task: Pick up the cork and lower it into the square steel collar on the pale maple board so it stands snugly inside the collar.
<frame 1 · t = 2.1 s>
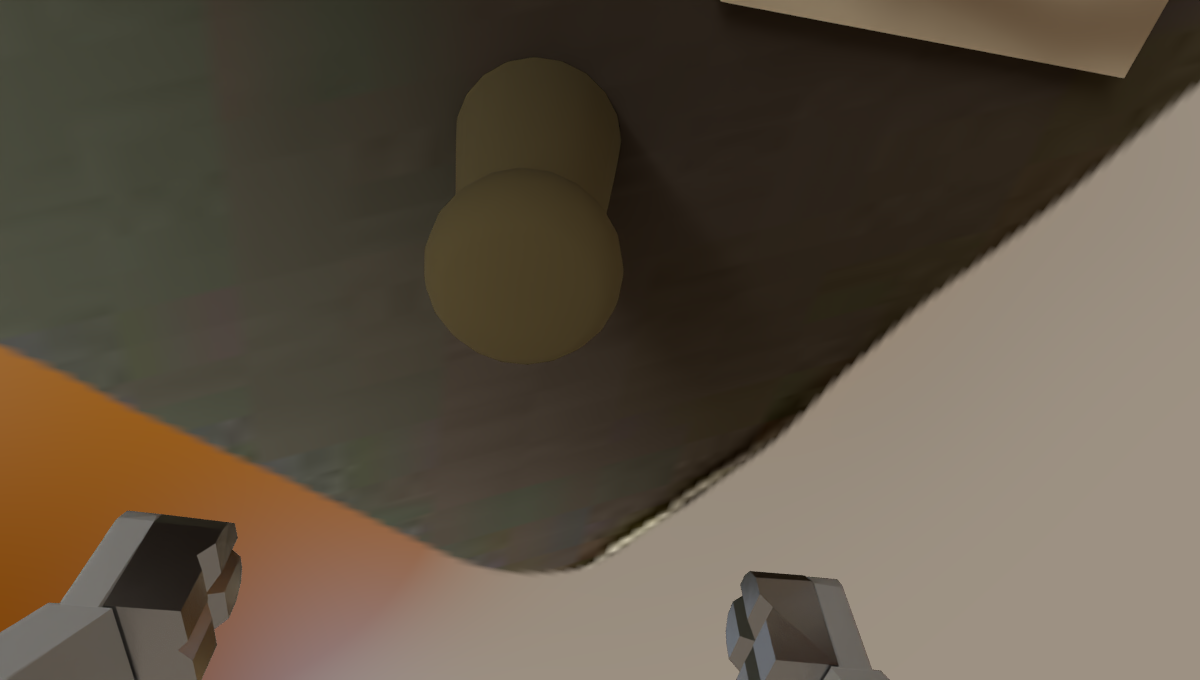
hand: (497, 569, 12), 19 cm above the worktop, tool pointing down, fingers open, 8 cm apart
cork: (538, 140, 27), on the worktop
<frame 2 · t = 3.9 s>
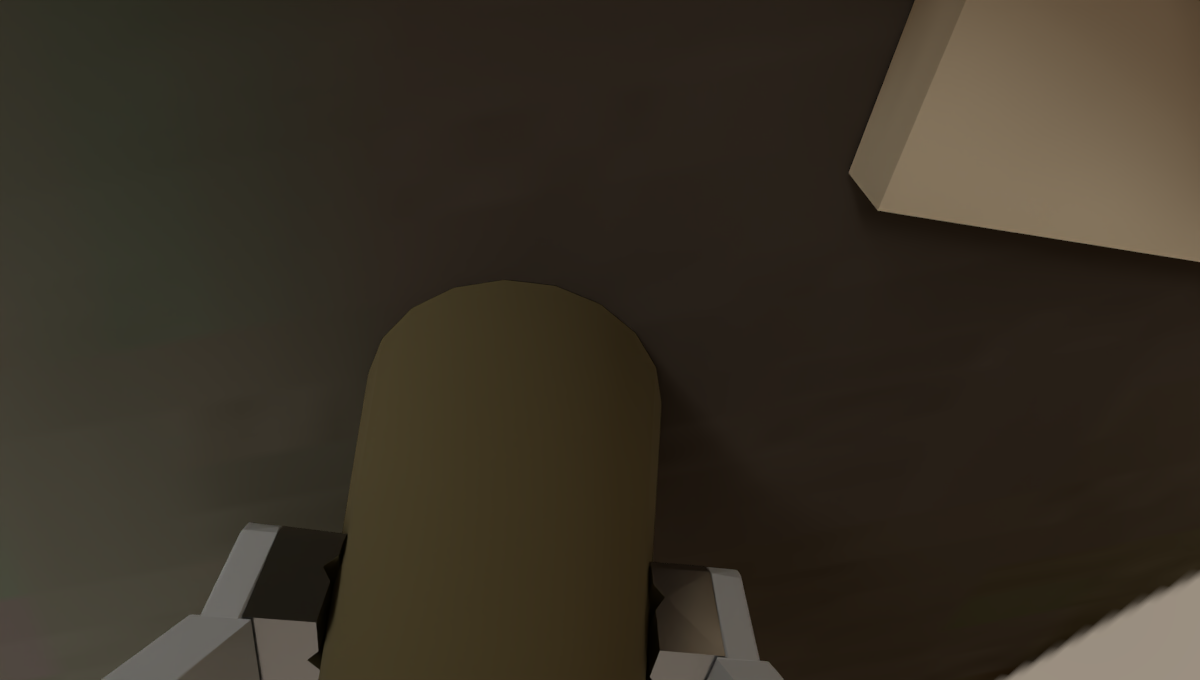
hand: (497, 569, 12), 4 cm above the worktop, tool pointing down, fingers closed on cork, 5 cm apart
cork: (516, 400, 16), on the worktop, touching gripper
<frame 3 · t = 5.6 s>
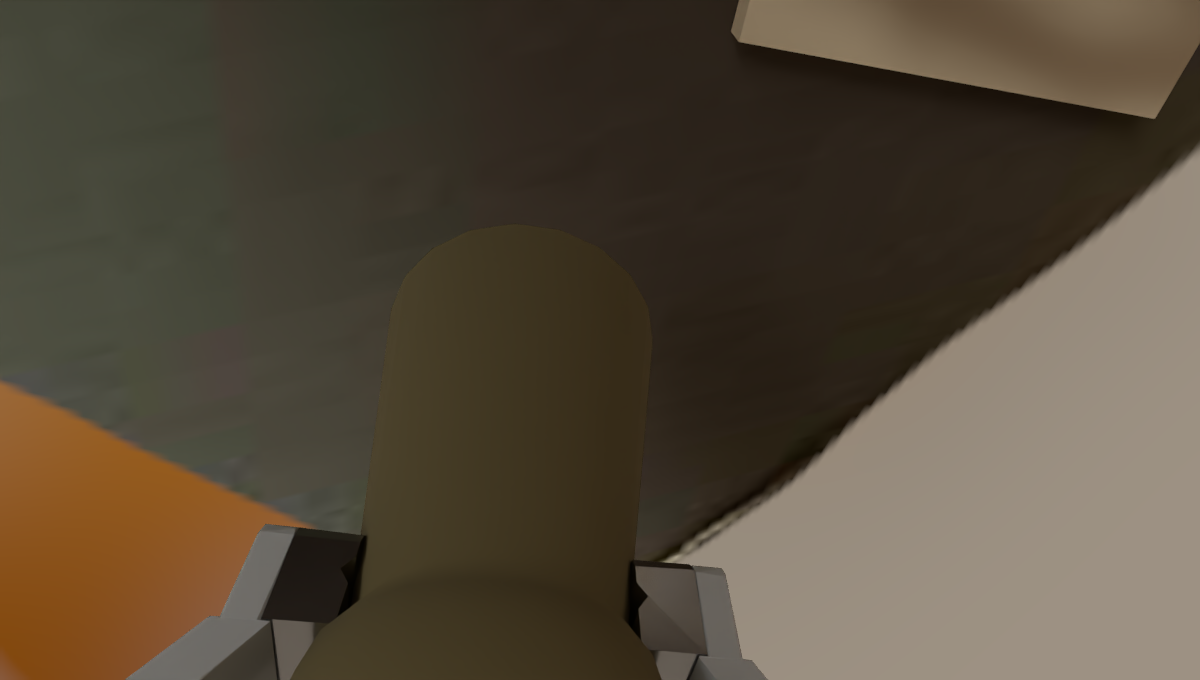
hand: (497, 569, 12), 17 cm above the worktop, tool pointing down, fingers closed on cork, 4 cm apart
cork: (523, 336, 17), point 11 cm above the worktop, touching gripper
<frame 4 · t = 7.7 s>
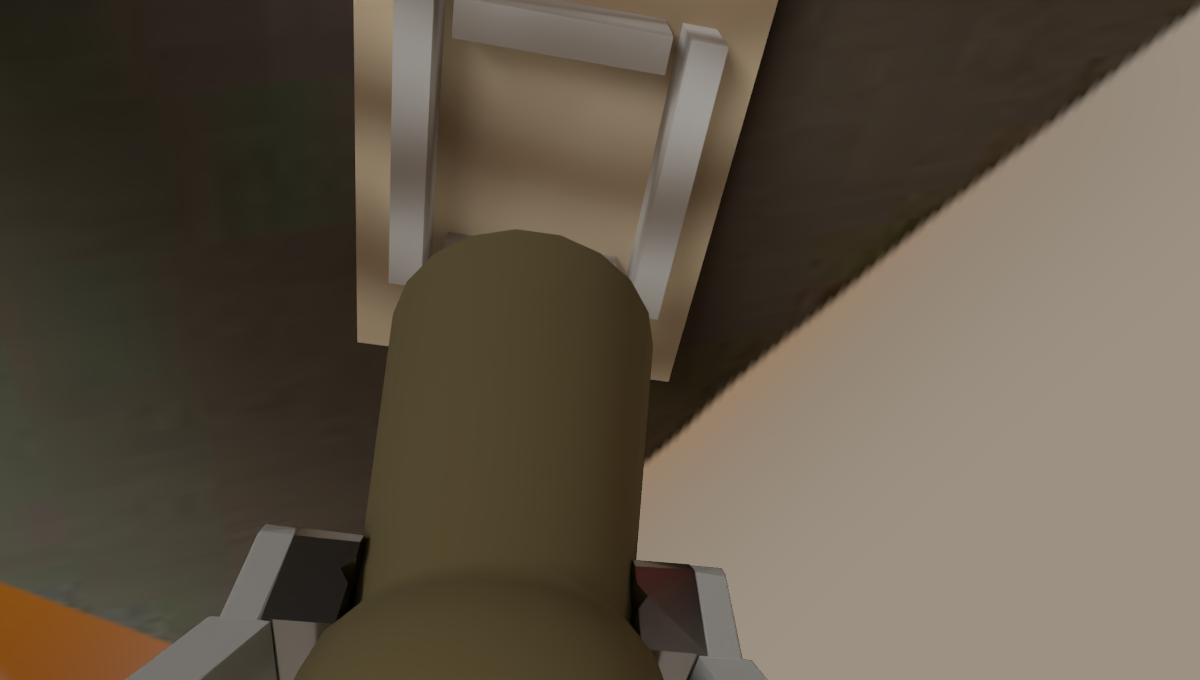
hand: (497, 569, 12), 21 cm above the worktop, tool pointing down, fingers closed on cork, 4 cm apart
collar board: (547, 136, 29), on the worktop
cork: (523, 342, 17), point 14 cm above the worktop, touching gripper
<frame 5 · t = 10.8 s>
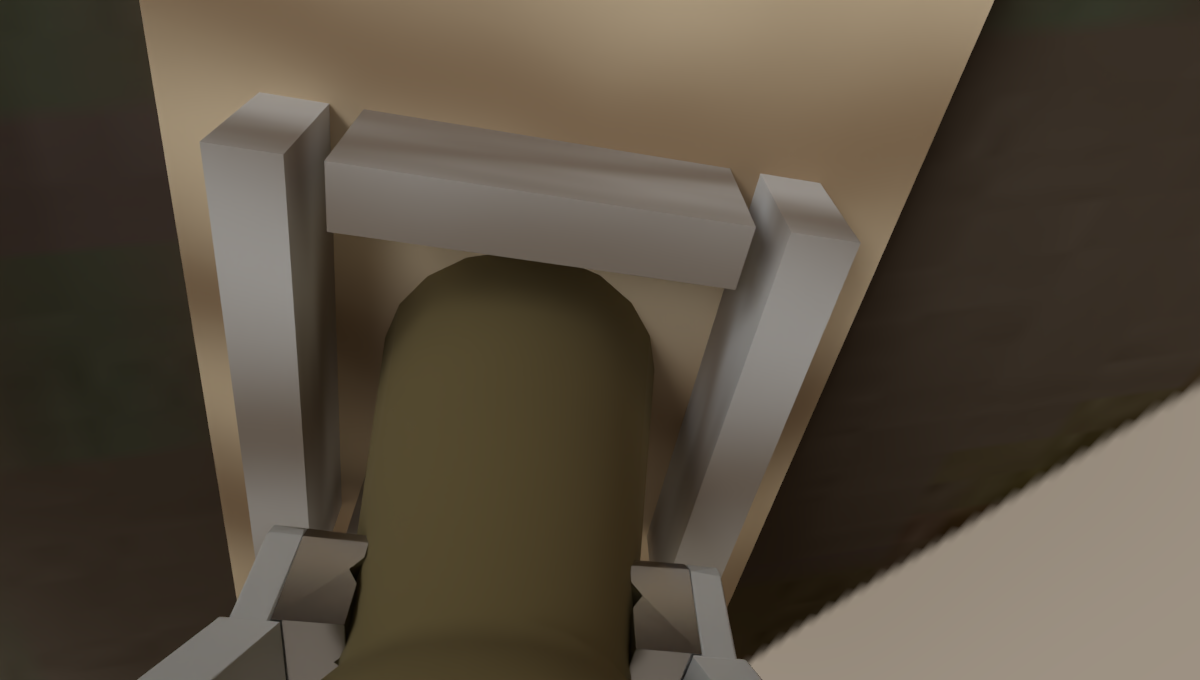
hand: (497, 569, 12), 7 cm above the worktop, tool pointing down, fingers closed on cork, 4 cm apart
collar board: (524, 326, 18), on the worktop
cork: (520, 365, 17), point 1 cm above the worktop, touching collar board, gripper
when the fingers open (7 cm above the worktop, at t = 10.8 s): cork stays where it is, resting on collar board.
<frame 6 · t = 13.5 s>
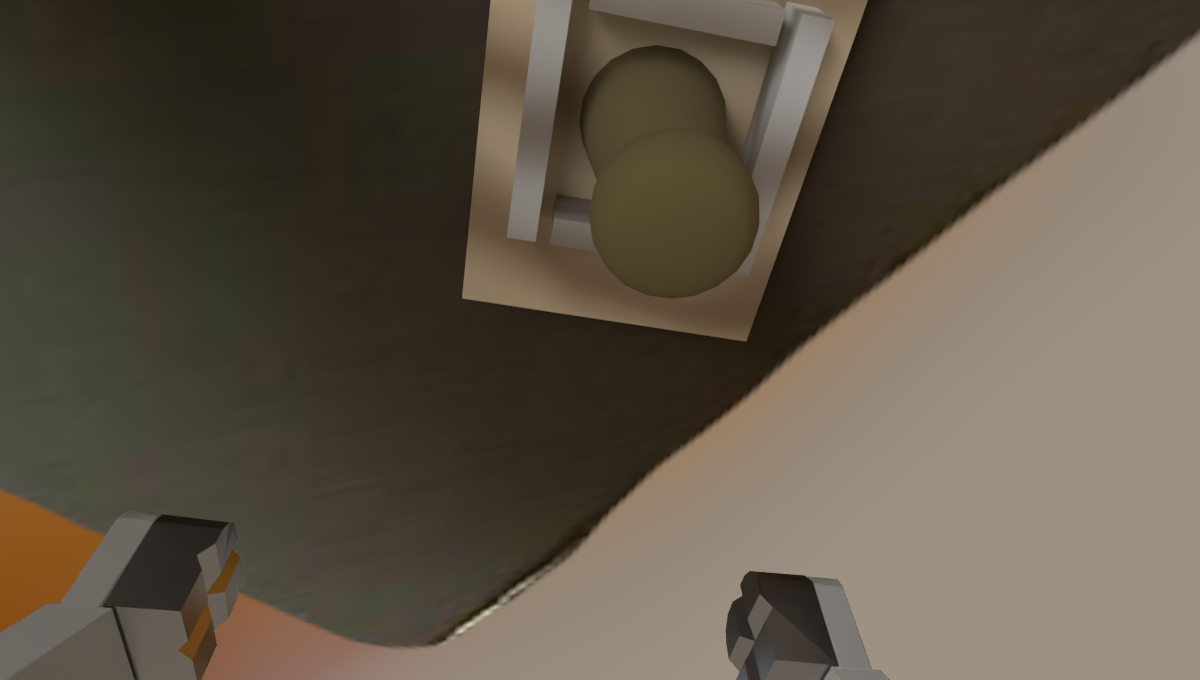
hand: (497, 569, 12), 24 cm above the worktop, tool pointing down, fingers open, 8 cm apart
collar board: (650, 106, 32), on the worktop
cork: (652, 120, 31), point 1 cm above the worktop, touching collar board
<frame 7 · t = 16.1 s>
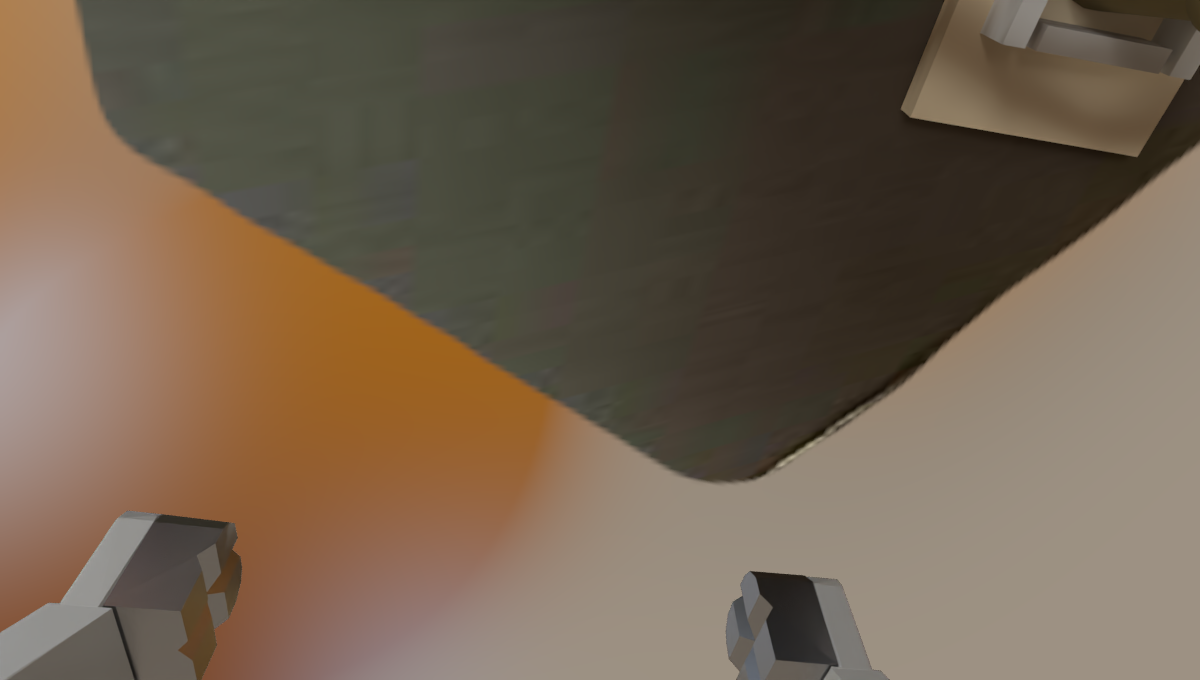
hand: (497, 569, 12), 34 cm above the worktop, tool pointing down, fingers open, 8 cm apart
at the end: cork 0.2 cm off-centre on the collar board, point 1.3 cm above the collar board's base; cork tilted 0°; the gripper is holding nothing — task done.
